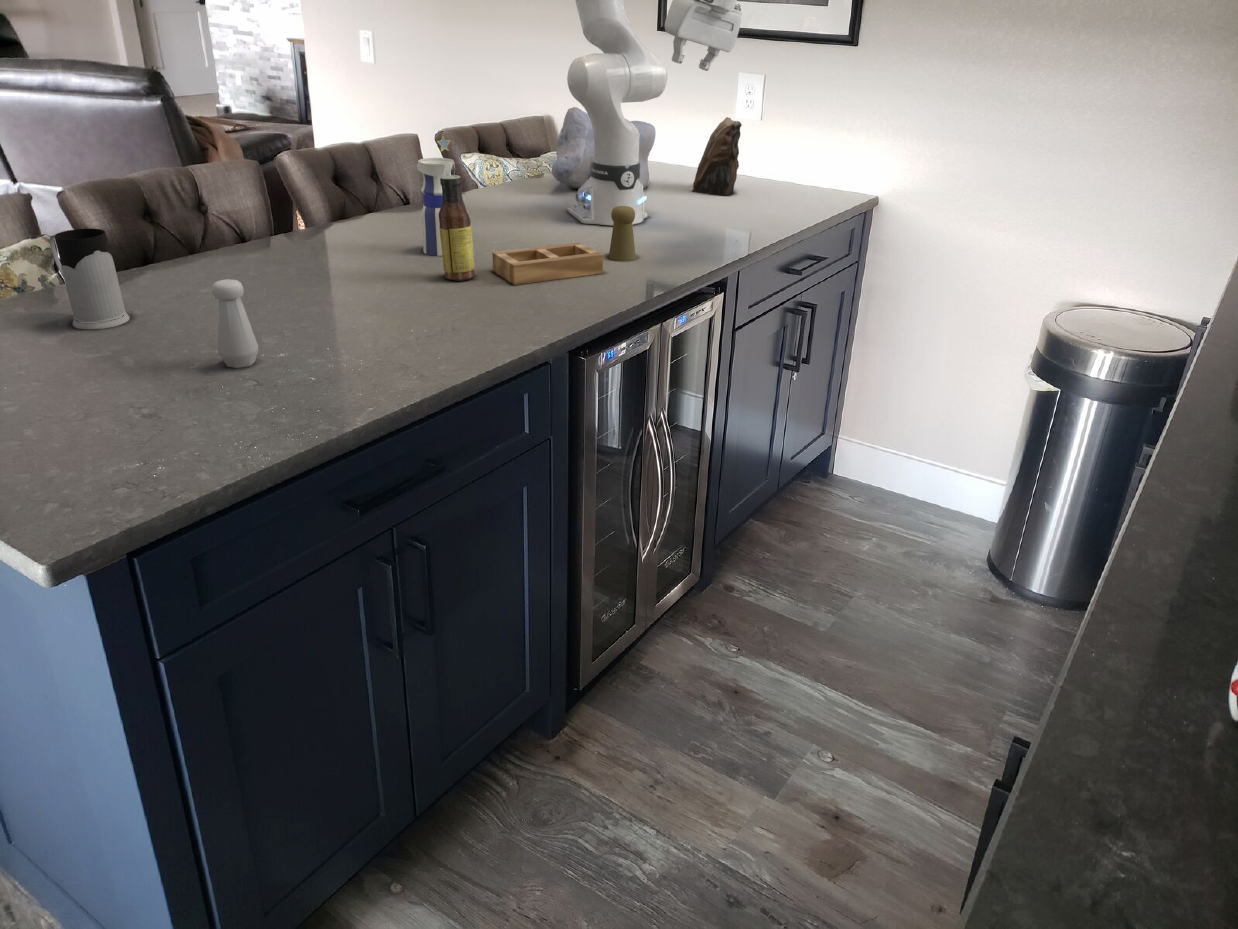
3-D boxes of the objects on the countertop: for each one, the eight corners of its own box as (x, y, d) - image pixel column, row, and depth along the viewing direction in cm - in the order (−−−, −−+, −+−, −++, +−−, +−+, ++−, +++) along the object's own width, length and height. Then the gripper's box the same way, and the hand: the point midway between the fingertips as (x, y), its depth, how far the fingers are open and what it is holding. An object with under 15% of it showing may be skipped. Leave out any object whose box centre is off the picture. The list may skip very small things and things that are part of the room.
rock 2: (718, 185, 280) (723, 115, 270) (751, 192, 272) (757, 120, 262) (690, 190, 272) (694, 118, 262) (723, 198, 264) (728, 123, 255)
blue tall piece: (468, 249, 208) (462, 131, 196) (446, 257, 201) (439, 136, 189) (438, 244, 211) (430, 128, 199) (415, 252, 204) (406, 133, 192)
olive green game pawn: (633, 261, 202) (634, 210, 196) (605, 259, 203) (606, 208, 197) (638, 254, 207) (639, 204, 202) (611, 252, 208) (612, 202, 203)
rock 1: (547, 210, 266) (547, 155, 283) (650, 220, 271) (644, 165, 287) (555, 140, 248) (555, 86, 265) (665, 153, 253) (658, 98, 270)
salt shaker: (227, 356, 146) (212, 275, 140) (264, 356, 147) (251, 275, 141) (216, 370, 141) (200, 286, 135) (254, 369, 142) (240, 286, 136)
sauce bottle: (480, 275, 190) (475, 175, 180) (466, 283, 184) (460, 180, 175) (451, 271, 191) (445, 172, 182) (436, 279, 186) (429, 177, 177)
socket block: (492, 271, 193) (492, 251, 191) (578, 260, 201) (578, 242, 200) (514, 285, 184) (513, 265, 182) (602, 273, 193) (603, 254, 191)
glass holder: (91, 332, 154) (69, 243, 147) (44, 316, 161) (20, 230, 154) (140, 319, 161) (120, 232, 154) (92, 304, 167) (71, 220, 161)
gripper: (732, 0, 193) (707, 68, 200) (673, -22, 178) (648, 52, 184) (755, 10, 190) (729, 78, 197) (697, -12, 175) (671, 63, 181)
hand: (689, 65), depth 190 cm, fingers open, 8 cm apart
